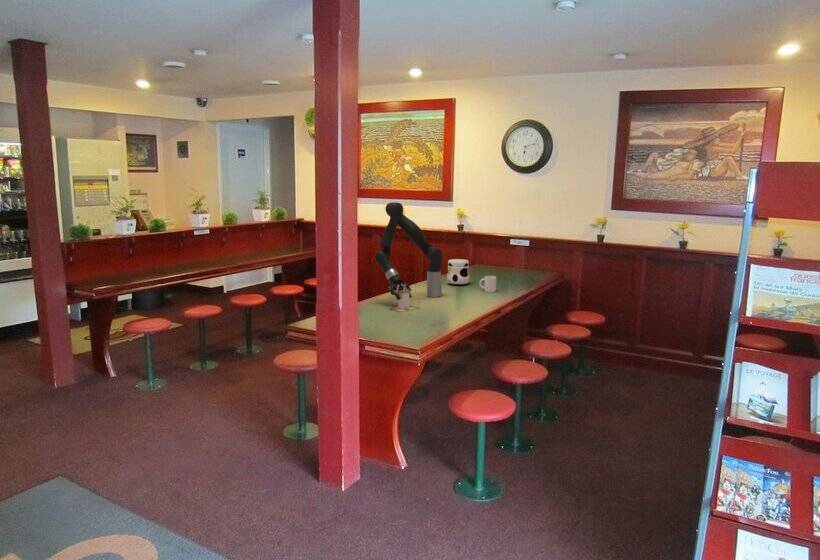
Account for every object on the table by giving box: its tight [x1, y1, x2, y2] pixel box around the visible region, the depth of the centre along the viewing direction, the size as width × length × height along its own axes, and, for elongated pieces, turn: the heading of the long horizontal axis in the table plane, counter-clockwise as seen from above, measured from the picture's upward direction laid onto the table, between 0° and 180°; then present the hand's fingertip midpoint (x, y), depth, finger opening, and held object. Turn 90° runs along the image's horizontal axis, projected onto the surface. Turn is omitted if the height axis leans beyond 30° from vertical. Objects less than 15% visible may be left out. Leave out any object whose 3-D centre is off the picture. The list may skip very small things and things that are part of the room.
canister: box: [397, 289, 411, 309], centre depth 356 cm, size 5×5×11 cm
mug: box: [478, 275, 497, 293], centre depth 407 cm, size 12×8×10 cm
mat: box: [387, 304, 420, 313], centre depth 357 cm, size 16×12×1 cm
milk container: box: [446, 258, 471, 286], centre depth 430 cm, size 17×17×18 cm
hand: (405, 298), depth 355 cm, fingers open, 8 cm apart
